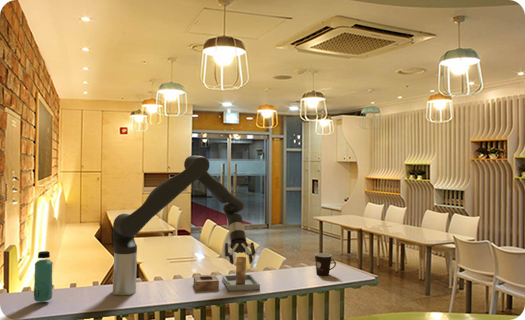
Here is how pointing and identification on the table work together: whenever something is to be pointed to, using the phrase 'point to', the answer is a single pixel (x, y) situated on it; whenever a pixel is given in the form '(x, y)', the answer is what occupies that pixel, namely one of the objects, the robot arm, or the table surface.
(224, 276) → the slate grey tray
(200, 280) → the walnut block
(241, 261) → the oak dowel
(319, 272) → the coffee mug
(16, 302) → the table surface
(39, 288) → the beverage bottle
